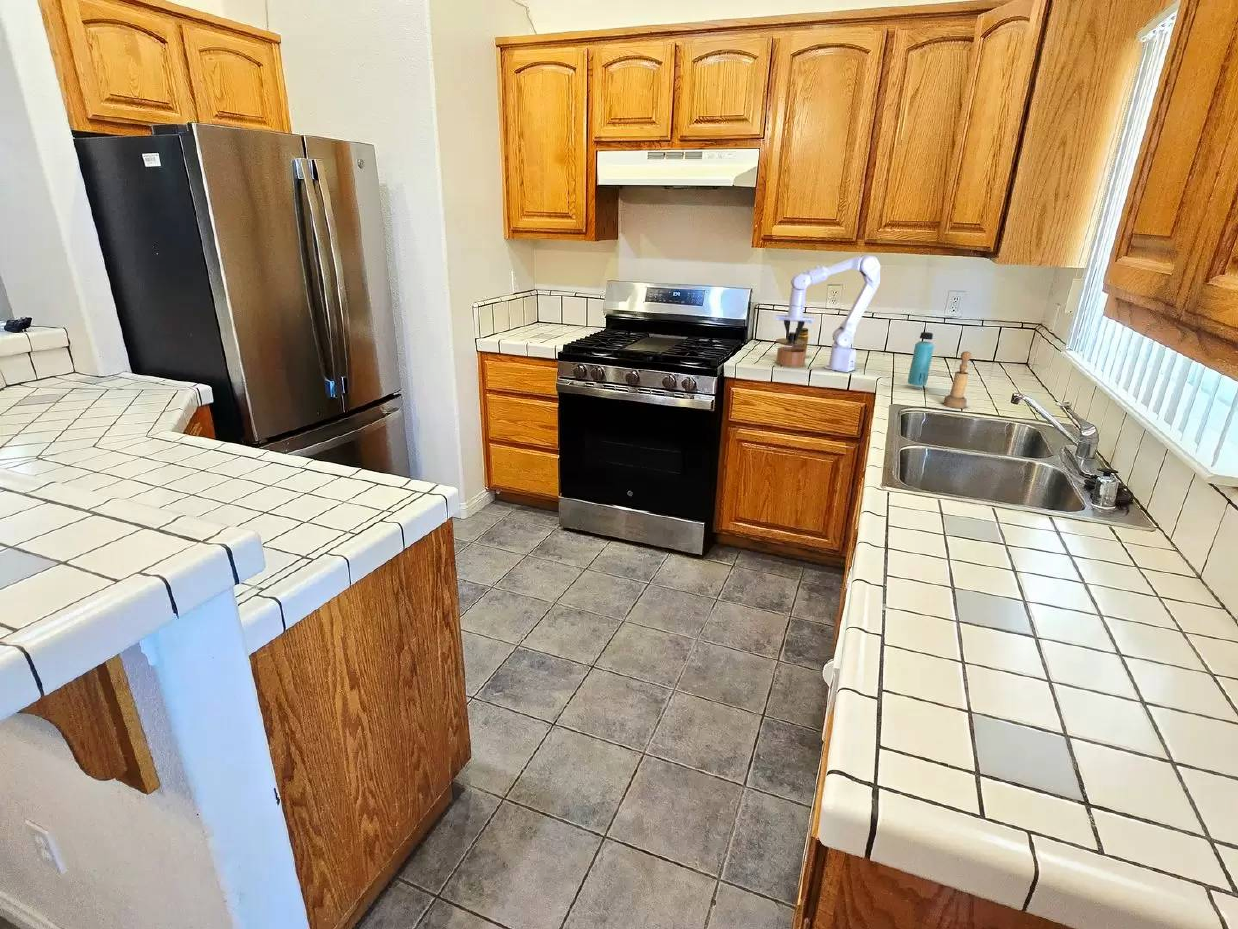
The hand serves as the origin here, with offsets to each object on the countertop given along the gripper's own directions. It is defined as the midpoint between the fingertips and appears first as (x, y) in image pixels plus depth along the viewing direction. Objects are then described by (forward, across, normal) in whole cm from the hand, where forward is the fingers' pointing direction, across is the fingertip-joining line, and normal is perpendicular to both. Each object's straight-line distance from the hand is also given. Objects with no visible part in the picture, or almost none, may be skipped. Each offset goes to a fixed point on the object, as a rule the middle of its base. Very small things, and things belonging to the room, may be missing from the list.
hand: (791, 339), depth 258 cm
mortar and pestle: (+11, -54, +39) cm, 68 cm away
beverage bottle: (+11, -46, +18) cm, 50 cm away
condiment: (+11, -3, -21) cm, 24 cm away
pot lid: (+1, 0, 0) cm, 1 cm away
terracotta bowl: (+10, -1, -4) cm, 11 cm away
